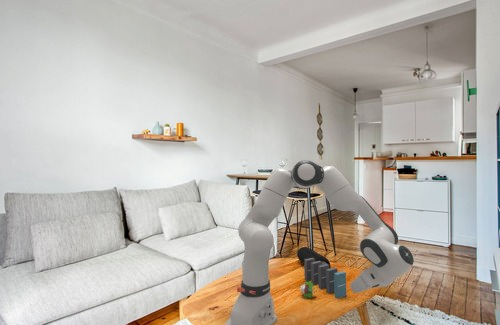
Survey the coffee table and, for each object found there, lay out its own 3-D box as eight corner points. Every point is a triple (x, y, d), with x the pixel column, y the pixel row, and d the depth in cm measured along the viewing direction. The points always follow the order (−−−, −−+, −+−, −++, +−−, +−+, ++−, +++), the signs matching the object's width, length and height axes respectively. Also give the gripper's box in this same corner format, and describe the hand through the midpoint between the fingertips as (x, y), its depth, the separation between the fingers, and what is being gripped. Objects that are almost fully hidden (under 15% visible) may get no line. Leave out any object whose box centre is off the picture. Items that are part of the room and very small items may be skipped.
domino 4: (337, 291, 138) (337, 268, 138) (329, 293, 135) (328, 270, 135) (334, 289, 140) (334, 267, 140) (326, 292, 137) (325, 269, 137)
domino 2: (322, 282, 148) (321, 261, 148) (314, 285, 145) (313, 263, 145) (319, 281, 149) (319, 260, 150) (311, 283, 147) (310, 262, 147)
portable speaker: (296, 262, 179) (295, 246, 180) (310, 260, 182) (309, 244, 182) (316, 277, 155) (316, 259, 155) (332, 275, 158) (331, 257, 158)
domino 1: (315, 279, 153) (314, 258, 153) (307, 281, 150) (306, 260, 150) (312, 277, 154) (312, 257, 154) (304, 280, 152) (304, 259, 152)
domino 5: (346, 295, 133) (345, 272, 133) (337, 298, 130) (337, 274, 130) (343, 293, 135) (342, 270, 135) (334, 296, 132) (333, 273, 132)
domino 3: (329, 286, 143) (329, 265, 143) (321, 289, 140) (320, 267, 140) (327, 285, 145) (326, 263, 145) (318, 287, 142) (318, 265, 142)
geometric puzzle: (307, 285, 140) (302, 276, 136) (320, 289, 135) (315, 279, 132) (301, 299, 135) (296, 289, 132) (314, 303, 131) (309, 293, 127)
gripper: (392, 262, 120) (373, 277, 129) (358, 272, 110) (340, 287, 119) (402, 276, 116) (382, 291, 125) (368, 287, 106) (349, 302, 115)
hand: (361, 289), depth 122 cm, fingers closed
